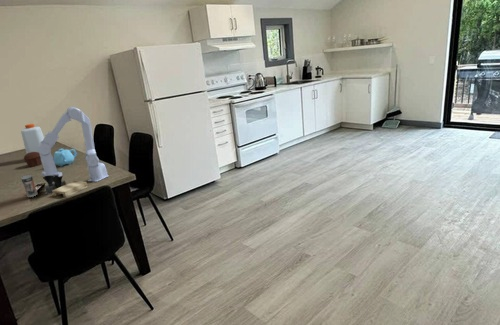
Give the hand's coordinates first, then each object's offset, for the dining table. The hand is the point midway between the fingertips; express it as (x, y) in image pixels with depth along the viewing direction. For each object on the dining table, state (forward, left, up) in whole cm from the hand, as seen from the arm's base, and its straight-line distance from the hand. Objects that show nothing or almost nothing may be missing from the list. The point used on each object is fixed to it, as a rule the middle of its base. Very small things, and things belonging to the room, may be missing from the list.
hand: (56, 187), depth 181 cm
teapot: (-39, -45, -2) cm, 60 cm away
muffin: (-35, -72, -2) cm, 80 cm away
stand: (0, +12, -1) cm, 12 cm away
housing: (0, 0, -1) cm, 1 cm away
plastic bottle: (-50, -89, -2) cm, 102 cm away
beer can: (+10, -6, -2) cm, 12 cm away
